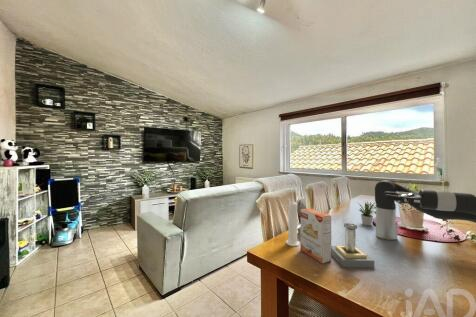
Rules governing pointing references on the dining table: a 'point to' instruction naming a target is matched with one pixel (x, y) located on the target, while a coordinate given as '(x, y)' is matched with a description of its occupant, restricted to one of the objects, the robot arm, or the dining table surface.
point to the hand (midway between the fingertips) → (385, 195)
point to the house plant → (367, 214)
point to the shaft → (350, 237)
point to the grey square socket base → (351, 257)
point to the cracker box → (316, 234)
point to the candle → (292, 224)
